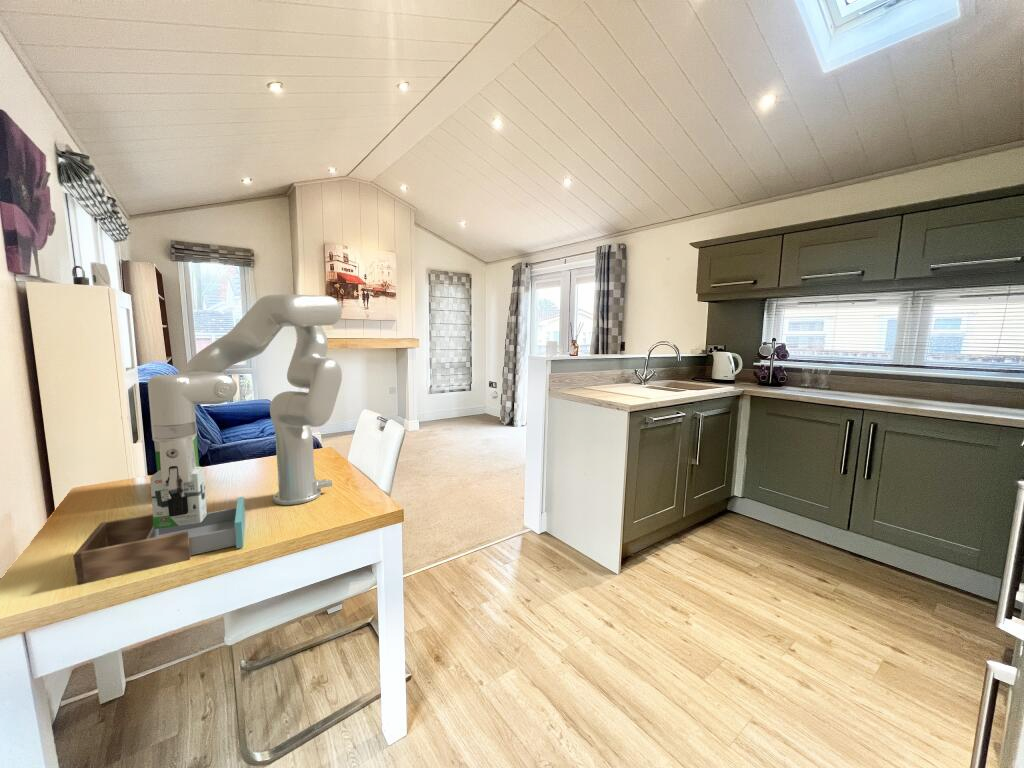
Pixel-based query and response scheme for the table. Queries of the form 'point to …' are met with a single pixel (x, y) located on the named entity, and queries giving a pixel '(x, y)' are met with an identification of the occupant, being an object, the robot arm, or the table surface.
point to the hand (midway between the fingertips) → (181, 508)
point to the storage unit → (127, 549)
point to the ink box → (194, 499)
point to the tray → (212, 530)
